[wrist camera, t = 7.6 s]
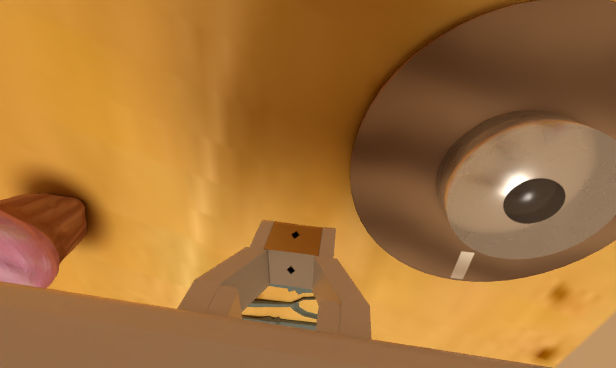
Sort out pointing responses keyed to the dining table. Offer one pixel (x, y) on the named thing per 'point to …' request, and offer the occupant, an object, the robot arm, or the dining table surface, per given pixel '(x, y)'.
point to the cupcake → (38, 236)
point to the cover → (528, 184)
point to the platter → (472, 111)
